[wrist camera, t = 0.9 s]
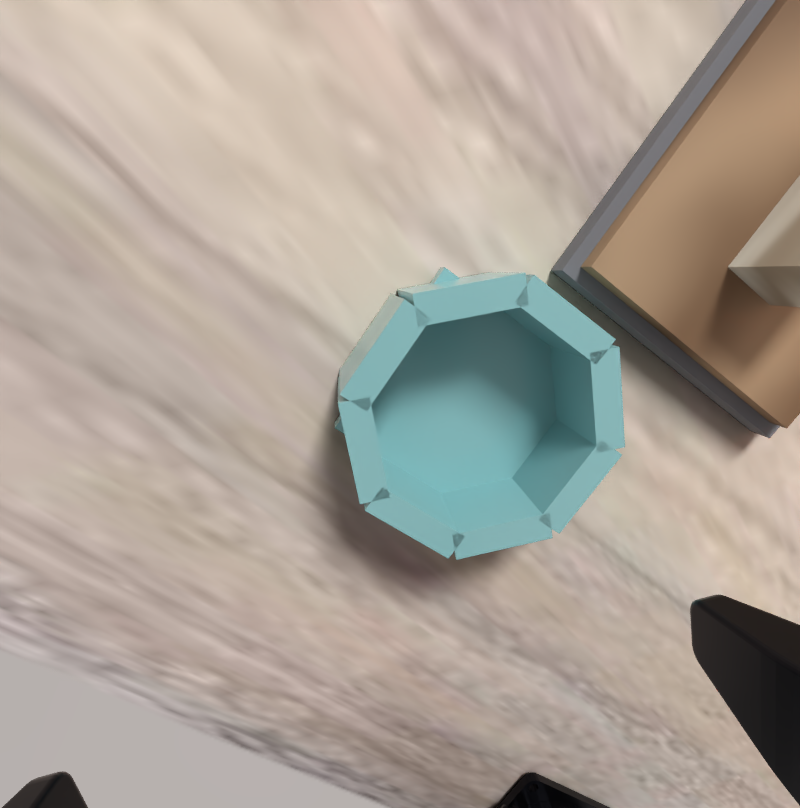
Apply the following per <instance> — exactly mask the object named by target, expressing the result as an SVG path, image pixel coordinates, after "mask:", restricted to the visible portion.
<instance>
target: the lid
mask: <svg viewBox="0 0 800 808" xmlns="http://www.w3.org/2000/svg"><path fill="white" fill-rule="evenodd" d="M581 268H583V269H584V270H585V271H586V272H587V273H589V274H590V275H591V276H592V277H594V278H595V279H596V280H597V281H598V282H600V283H601V284H602V285H603V286H605V287H606V288H607V289H608V290H609V291H611V292H612V293H613V294H614V295H615V296H617V297H618V298H619V299H620V300H622V301H623V302H624V303H625V304H626V305H628V306H629V307H630V308H631V309H633V310H634V311H635V312H636V313H637V314H639V315H640V316H641V317H642V318H643V319H645V320H646V321H647V322H648V323H650V324H651V325H652V326H653V327H654V328H656V329H657V330H658V331H659V332H661V333H662V334H663V335H664V336H665V337H667V338H668V339H669V340H670V341H672V342H673V343H674V344H675V345H676V346H678V347H679V348H680V349H681V350H682V351H684V352H685V353H686V354H687V355H689V356H690V357H691V358H692V359H693V360H695V361H696V362H697V363H698V364H700V365H701V366H702V367H703V368H704V369H706V370H707V371H708V372H709V373H710V374H712V375H713V376H714V377H715V378H717V379H718V380H719V381H720V382H721V383H723V384H724V385H725V386H726V387H728V388H729V389H730V390H731V391H732V392H734V393H735V394H736V395H737V396H738V397H740V398H741V399H742V400H743V401H745V402H746V403H747V404H748V405H749V406H751V407H752V408H753V409H754V410H756V411H757V412H758V413H759V414H760V415H762V416H763V417H764V418H765V419H767V420H768V421H769V422H770V423H773V424H776V425H779V426H781V427H784V428H788V426H789V425H790V424H791V423H792V422H793V421H794V419H795V418H796V417H797V416H798V415H799V413H800V0H775V2H774V3H773V5H772V6H771V7H770V9H769V10H768V11H767V13H766V14H765V15H764V17H763V18H762V20H761V21H760V22H759V24H758V25H757V26H756V28H755V29H754V31H753V32H752V33H751V35H750V36H749V37H748V39H747V40H746V41H745V43H744V44H743V46H742V47H741V48H740V50H739V51H738V52H737V54H736V55H735V56H734V58H733V59H732V61H731V62H730V63H729V65H728V66H727V67H726V69H725V70H724V72H723V73H722V74H721V76H720V77H719V78H718V80H717V81H716V82H715V84H714V85H713V87H712V88H711V89H710V91H709V92H708V93H707V95H706V96H705V97H704V99H703V100H702V102H701V103H700V104H699V106H698V107H697V108H696V110H695V111H694V112H693V114H692V115H691V117H690V118H689V119H688V121H687V122H686V123H685V125H684V126H683V128H682V129H681V130H680V132H679V133H678V134H677V136H676V137H675V138H674V140H673V141H672V143H671V144H670V145H669V147H668V148H667V149H666V151H665V152H664V153H663V155H662V156H661V158H660V159H659V160H658V162H657V163H656V164H655V166H654V167H653V169H652V170H651V171H650V173H649V174H648V175H647V177H646V178H645V179H644V181H643V182H642V184H641V185H640V186H639V188H638V189H637V190H636V192H635V193H634V194H633V196H632V197H631V199H630V200H629V201H628V203H627V204H626V205H625V207H624V208H623V209H622V211H621V212H620V214H619V215H618V216H617V218H616V219H615V220H614V222H613V223H612V225H611V226H610V227H609V229H608V230H607V231H606V233H605V234H604V235H603V237H602V238H601V240H600V241H599V242H598V244H597V245H596V246H595V248H594V249H593V250H592V252H591V253H590V255H589V256H588V257H587V259H586V260H585V261H584V263H583V264H582V266H581Z"/></svg>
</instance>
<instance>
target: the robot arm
mask: <svg viewBox="0 0 800 808" xmlns="http://www.w3.org/2000/svg"><path fill="white" fill-rule="evenodd" d="M690 614H691V632H692V646H693V651H694V654H695V656H696V658H697V660H698V662H699V664H700V665H701V667H702V668H703V670H704V671H705V673H706V674H707V676H708V677H709V679H710V680H711V682H712V683H713V685H714V686H715V687H716V689H717V690H718V692H719V693H720V695H721V696H722V698H723V699H724V701H725V702H726V704H727V705H728V707H729V708H730V710H731V711H732V712H733V714H734V715H735V717H736V718H737V720H738V721H739V723H740V724H741V726H742V727H743V729H744V730H745V732H746V733H747V734H748V736H749V737H750V739H751V740H752V742H753V743H754V745H755V746H756V748H757V749H758V751H759V752H760V754H761V755H762V756H763V758H764V759H765V761H766V762H767V763H768V765H769V766H770V768H771V769H772V770H773V772H774V773H775V775H776V776H777V777H778V778H779V780H780V781H781V782H782V783H783V785H784V786H785V787H786V789H787V790H788V791H789V792H790V794H791V795H792V796H793V797H794V799H795V800H796V801H797V802H798V804H799V805H800V625H799V624H796V623H793V622H791V621H788V620H786V619H783V618H781V617H778V616H775V615H773V614H770V613H768V612H765V611H762V610H760V609H757V608H755V607H752V606H750V605H747V604H744V603H742V602H739V601H737V600H734V599H732V598H729V597H726V596H723V595H713V596H709V597H705V598H702V599H698V600H695V601H694V602H693V603H692V604H691V608H690ZM2 808H88V807H87V805H86V803H85V801H84V799H83V797H82V795H81V793H80V791H79V789H78V788H77V786H76V784H75V782H74V780H73V778H72V777H71V775H70V774H68V773H66V772H57V773H53V774H50V775H46V776H42V777H38V778H36V779H34V780H32V781H30V782H29V783H28V784H26V785H25V786H24V787H23V788H22V789H21V790H20V791H19V792H18V793H17V794H16V795H15V796H14V797H13V798H12V799H11V800H10V801H9V802H8V803H6V804H5V805H4V806H3V807H2ZM497 808H609V807H607V806H605V805H603V804H601V803H599V802H596V801H594V800H592V799H590V798H588V797H586V796H584V795H582V794H579V793H577V792H575V791H573V790H571V789H569V788H567V787H564V786H562V785H560V784H558V783H556V782H554V781H552V780H549V779H547V778H545V777H543V776H541V775H539V774H537V773H529V774H526V775H525V776H524V777H523V778H522V779H521V780H520V781H519V782H518V784H517V785H516V786H515V787H514V788H513V789H512V791H511V792H510V793H509V794H508V795H507V796H506V798H505V799H504V800H503V801H502V802H501V803H500V804H499V806H498V807H497Z"/></svg>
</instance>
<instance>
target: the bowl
mask: <svg viewBox="0 0 800 808" xmlns="http://www.w3.org/2000/svg"><path fill="white" fill-rule="evenodd" d="M397 291H398V296H395V295H393V294H390V296H389V297H388V299H387V300H386V302H385V303H384V304H383V306H382V307H381V309H380V310H379V312H378V313H377V315H376V316H375V318H374V319H373V321H372V322H371V324H370V325H369V327H368V328H367V330H366V331H365V333H364V334H363V336H362V337H361V339H360V340H359V342H358V343H357V345H356V346H355V348H354V349H353V351H352V352H351V353H350V355H349V356H348V358H347V359H346V361H345V362H344V364H343V365H342V367H341V368H340V370H339V377H338V406H339V411H340V415H339V417H338V418H337V420H336V421H335V429H337V430H339V431H340V432H342V433H343V434H345V438H346V443H347V447H348V452H349V457H350V461H351V466H352V470H353V475H354V479H355V484H356V489H357V493H358V498H359V502H360V504H363V503H364V508H365V511H366V512H368V513H370V514H371V515H373V516H375V517H377V518H378V519H380V520H382V521H384V522H385V523H387V524H389V525H391V526H392V527H394V528H396V529H398V530H399V531H401V532H403V533H405V534H406V535H408V536H410V537H411V538H413V539H415V540H417V541H418V542H420V543H422V544H424V545H425V546H427V547H429V548H431V549H432V550H434V551H436V552H438V553H439V554H441V555H443V556H445V557H446V558H448V559H449V557H450V556H451V555H452V553H454V555H455V558H456V560H458V559H462V558H467V557H471V556H475V555H480V554H484V553H489V552H493V551H497V550H502V549H506V548H511V547H515V546H519V545H524V544H528V543H533V542H537V541H541V540H546V539H550V538H552V529H553V530H554V531H556V532H558V533H560V532H561V531H562V530H563V528H564V527H565V526H566V525H567V523H568V522H569V521H570V520H571V518H572V517H573V516H574V515H575V513H576V512H577V511H578V510H579V508H580V507H581V506H582V505H583V503H584V502H585V501H586V500H587V498H588V497H589V496H590V495H591V493H592V492H593V491H594V490H595V488H596V487H597V486H598V485H599V483H600V482H601V481H602V480H603V478H604V477H605V476H606V474H607V473H608V472H609V471H610V469H611V468H612V467H613V466H614V464H615V463H616V462H617V461H618V459H619V458H620V457H621V456H622V454H620V453H619V452H618V451H616V450H615V449H618V448H623V447H625V440H624V421H623V403H622V384H621V365H620V347H618V346H615V345H612V344H613V342H614V341H615V340H616V339H615V338H613V337H612V336H611V335H610V334H608V333H607V332H606V331H605V330H603V329H602V328H601V327H600V326H598V325H597V324H596V323H594V322H593V321H592V320H591V319H589V318H588V317H587V316H586V315H584V314H583V313H582V312H581V311H579V310H578V309H577V308H575V307H574V306H573V305H572V304H570V303H569V302H568V301H567V300H565V299H564V298H563V297H562V296H560V295H559V294H558V293H557V292H555V291H554V290H553V289H551V288H550V287H549V286H548V285H546V284H545V283H544V282H543V281H541V280H540V279H539V278H538V277H536V276H535V275H526V274H525V273H482V274H477V275H471V276H466V277H461V278H458V277H457V276H456V275H454V274H453V273H452V272H450V271H449V270H448V269H446V268H445V267H444V268H440V269H439V271H438V272H437V274H436V275H435V277H434V278H433V279H432V281H431V282H430V283H429V284H423V285H418V286H412V287H407V288H402V289H397Z"/></svg>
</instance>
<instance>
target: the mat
mask: <svg viewBox="0 0 800 808" xmlns="http://www.w3.org/2000/svg"><path fill="white" fill-rule="evenodd" d="M774 2H775V0H746V1H745V3H744V4H743V5H742V7H741V8H740V9H739V11H738V12H737V14H736V15H735V16H734V18H733V19H732V20H731V22H730V23H729V25H728V26H727V27H726V29H725V30H724V32H723V33H722V34H721V36H720V37H719V38H718V40H717V41H716V43H715V44H714V45H713V47H712V48H711V50H710V51H709V52H708V54H707V55H706V56H705V58H704V59H703V61H702V62H701V63H700V65H699V66H698V68H697V69H696V70H695V72H694V73H693V74H692V76H691V77H690V79H689V80H688V81H687V83H686V84H685V86H684V87H683V88H682V90H681V91H680V92H679V94H678V95H677V97H676V98H675V99H674V101H673V102H672V104H671V105H670V106H669V108H668V109H667V110H666V112H665V113H664V115H663V116H662V117H661V119H660V120H659V122H658V123H657V124H656V126H655V127H654V128H653V130H652V131H651V133H650V134H649V135H648V137H647V138H646V139H645V141H644V142H643V144H642V145H641V146H640V148H639V149H638V151H637V152H636V153H635V155H634V156H633V157H632V159H631V160H630V162H629V163H628V164H627V166H626V167H625V169H624V170H623V171H622V173H621V174H620V175H619V177H618V178H617V180H616V181H615V182H614V184H613V185H612V187H611V188H610V189H609V191H608V192H607V193H606V195H605V196H604V198H603V199H602V200H601V202H600V203H599V205H598V206H597V207H596V209H595V210H594V211H593V213H592V214H591V216H590V217H589V218H588V220H587V221H586V223H585V224H584V225H583V227H582V228H581V229H580V231H579V232H578V234H577V235H576V236H575V238H574V239H573V241H572V242H571V243H570V245H569V246H568V247H567V249H566V250H565V252H564V253H563V254H562V256H561V257H560V258H559V260H558V261H557V263H556V264H555V265H554V267H553V268H552V270H551V271H552V272H554V273H555V274H556V275H557V276H559V277H560V278H561V279H562V280H564V281H565V282H566V283H567V284H569V285H570V286H571V287H572V288H573V289H575V290H576V291H577V292H578V293H580V294H581V295H582V296H583V297H585V298H586V299H587V300H588V301H590V302H591V303H592V304H593V305H595V306H596V307H597V308H598V309H600V310H601V311H602V312H603V313H605V314H606V315H607V316H608V317H610V318H611V319H612V320H613V321H615V322H616V323H617V324H618V325H620V326H621V327H622V328H623V329H625V330H626V331H627V332H628V333H630V334H631V335H632V336H633V337H635V338H636V339H637V340H638V341H640V342H641V343H642V344H643V345H645V346H646V347H647V348H648V349H649V350H651V351H652V352H653V353H654V354H656V355H657V356H658V357H659V358H661V359H662V360H663V361H664V362H666V363H667V364H668V365H669V366H671V367H672V368H673V369H674V370H676V371H677V372H678V373H679V374H681V375H682V376H683V377H684V378H686V379H687V380H688V381H689V382H691V383H692V384H693V385H694V386H696V387H697V388H698V389H699V390H701V391H702V392H703V393H704V394H706V395H707V396H708V397H709V398H711V399H712V400H713V401H714V402H716V403H717V404H718V405H719V406H720V407H722V408H723V409H724V410H725V411H727V412H728V413H729V414H730V415H732V416H733V417H734V418H735V419H737V420H738V421H739V422H740V423H742V424H743V425H744V426H745V427H747V428H748V429H749V430H750V431H752V432H755V433H758V434H760V435H763V436H765V437H768V438H770V437H771V436H772V435H773V434H774V433H775V432H776V430H777V429H778V428H779V427H780V426H779V425H776V424H773V423H770V422H769V421H768V420H767V419H765V418H764V417H763V416H762V415H760V414H759V413H758V412H757V411H756V410H754V409H753V408H752V407H751V406H749V405H748V404H747V403H746V402H745V401H743V400H742V399H741V398H740V397H738V396H737V395H736V394H735V393H734V392H732V391H731V390H730V389H729V388H728V387H726V386H725V385H724V384H723V383H721V382H720V381H719V380H718V379H717V378H715V377H714V376H713V375H712V374H710V373H709V372H708V371H707V370H706V369H704V368H703V367H702V366H701V365H700V364H698V363H697V362H696V361H695V360H693V359H692V358H691V357H690V356H689V355H687V354H686V353H685V352H684V351H682V350H681V349H680V348H679V347H678V346H676V345H675V344H674V343H673V342H672V341H670V340H669V339H668V338H667V337H665V336H664V335H663V334H662V333H661V332H659V331H658V330H657V329H656V328H654V327H653V326H652V325H651V324H650V323H648V322H647V321H646V320H645V319H643V318H642V317H641V316H640V315H639V314H637V313H636V312H635V311H634V310H633V309H631V308H630V307H629V306H628V305H626V304H625V303H624V302H623V301H622V300H620V299H619V298H618V297H617V296H615V295H614V294H613V293H612V292H611V291H609V290H608V289H607V288H606V287H605V286H603V285H602V284H601V283H600V282H598V281H597V280H596V279H595V278H594V277H592V276H591V275H590V274H589V273H587V272H586V271H585V270H584V269H583V268H581V266H582V264H583V263H584V261H585V260H586V259H587V257H588V256H589V255H590V253H591V252H592V250H593V249H594V248H595V246H596V245H597V244H598V242H599V241H600V240H601V238H602V237H603V235H604V234H605V233H606V231H607V230H608V229H609V227H610V226H611V225H612V223H613V222H614V220H615V219H616V218H617V216H618V215H619V214H620V212H621V211H622V209H623V208H624V207H625V205H626V204H627V203H628V201H629V200H630V199H631V197H632V196H633V194H634V193H635V192H636V190H637V189H638V188H639V186H640V185H641V184H642V182H643V181H644V179H645V178H646V177H647V175H648V174H649V173H650V171H651V170H652V169H653V167H654V166H655V164H656V163H657V162H658V160H659V159H660V158H661V156H662V155H663V153H664V152H665V151H666V149H667V148H668V147H669V145H670V144H671V143H672V141H673V140H674V138H675V137H676V136H677V134H678V133H679V132H680V130H681V129H682V128H683V126H684V125H685V123H686V122H687V121H688V119H689V118H690V117H691V115H692V114H693V112H694V111H695V110H696V108H697V107H698V106H699V104H700V103H701V102H702V100H703V99H704V97H705V96H706V95H707V93H708V92H709V91H710V89H711V88H712V87H713V85H714V84H715V82H716V81H717V80H718V78H719V77H720V76H721V74H722V73H723V72H724V70H725V69H726V67H727V66H728V65H729V63H730V62H731V61H732V59H733V58H734V56H735V55H736V54H737V52H738V51H739V50H740V48H741V47H742V46H743V44H744V43H745V41H746V40H747V39H748V37H749V36H750V35H751V33H752V32H753V31H754V29H755V28H756V26H757V25H758V24H759V22H760V21H761V20H762V18H763V17H764V15H765V14H766V13H767V11H768V10H769V9H770V7H771V6H772V5H773V3H774Z"/></svg>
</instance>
